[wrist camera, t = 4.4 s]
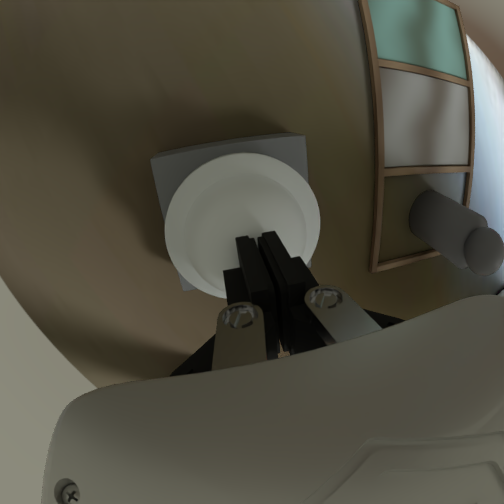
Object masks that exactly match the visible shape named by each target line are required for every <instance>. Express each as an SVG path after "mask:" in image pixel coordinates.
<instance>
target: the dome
mask: <svg viewBox="0 0 504 504" xmlns="http://www.w3.org/2000/svg"><path fill="white" fill-rule="evenodd" d="M269 231H276V233H277V235H278V236H279V238H280V240H281V241H282V243H283V245H284V246H285V248H286V250H287V251H288V253H289V255H290V256H291V258H292V257H297V256H300V257H301V258H302V260H303V261H304V263H305V264H306V265H307V263H308V261H309V260H310V258H311V257H312V255H313V252H314V250H315V248H316V245H317V242H318V238H319V233H320V212H319V207H318V203H317V200H316V198H315V195H314V193H313V191H312V190H311V188H310V186H309V185H308V183H307V182H306V181H305V180H304V178H303V177H302V176H301V175H300V174H299V173H298V172H297V171H295V170H294V169H292V168H291V167H290V166H288V165H287V164H285V163H283V162H281V161H279V160H277V159H275V158H273V157H270V156H267V155H263V154H258V153H246V152H242V153H232V154H227V155H223V156H220V157H217V158H215V159H212V160H210V161H208V162H206V163H204V164H202V165H201V166H199V167H198V168H197V169H195V170H194V171H193V172H192V173H191V174H189V175H188V176H187V177H186V178H185V179H184V181H183V182H182V183H181V185H180V186H179V187H178V189H177V190H176V192H175V194H174V196H173V198H172V200H171V203H170V205H169V208H168V211H167V215H166V220H165V241H166V246H167V250H168V253H169V256H170V258H171V260H172V262H173V264H174V266H175V267H176V269H177V270H178V271H179V273H180V274H181V275H182V276H183V277H184V278H185V279H186V280H187V281H188V282H189V283H191V284H192V285H193V286H195V287H196V288H198V289H199V290H201V291H203V292H205V293H208V294H210V295H213V296H216V297H221V298H226V299H227V297H226V290H225V283H224V276H223V270H228V269H233V268H239V267H240V265H239V259H238V253H237V247H236V240H235V237H241V236H246V235H248V236H249V238H254V239H255V242H256V244H257V247H258V240H257V237H260V236H262V233H263V232H269ZM258 249H259V248H258Z"/></svg>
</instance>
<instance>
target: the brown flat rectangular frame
mask: <svg viewBox="0 0 504 504" xmlns="http://www.w3.org/2000/svg"><path fill="white" fill-rule="evenodd" d="M358 3H359V8H360V13H361V18H362V23H363V28H364V34H365V40H366V46H367V53H368V60H369V68H370V77H371V87H372V98H373V112H374V132H375V197H374V218H373V233H372V245H371V256H370V265H369V272H370V273H371V274H372V273H376V272H380V271H384V270H388V269H391V268H395V267H399V266H402V265H406V264H410V263H413V262H417V261H420V260H424V259H427V258H431V257H434V256H438V255H441V254H440V253H439V252H438V251H436V250H435V249H432V250H428V251H425V252H421V253H417V254H413V255H409V256H405V257H402V258H398V259H394V260H390V261H386V262H382V263H378V258H379V250H380V240H381V229H382V216H383V199H384V176H397V175H412V174H430V173H454V172H467V174H466V184H465V193H464V201H463V206H465V207H467V208H469V203H470V195H471V187H472V178H473V166H474V149H475V106H474V90H473V79H472V70H471V62H470V55H469V49H468V43H467V38H466V33H465V28H464V24H463V20H462V16H461V12H460V8H459V6H457V5H455V4H453V3H451V2H450V1H448V0H358ZM379 67H384V68H379ZM386 68H391V69H386ZM392 69H397V70H392ZM398 70H402V71H398ZM404 71H407V72H404ZM409 72H412V73H409ZM414 73H417V74H414ZM419 74H422V75H419ZM423 75H426V76H423ZM428 76H430V77H428ZM432 77H434V78H432ZM436 78H438V79H436ZM440 79H442V80H440ZM443 80H446V81H443ZM447 81H449V82H447ZM451 82H453V83H451ZM454 83H456V84H454ZM458 84H459V85H458ZM461 85H463V86H461ZM464 86H466V87H464ZM418 165H437V166H418ZM395 166H407V167H395ZM384 167H388V168H384Z"/></svg>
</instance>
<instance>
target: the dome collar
mask: <svg viewBox="0 0 504 504" xmlns="http://www.w3.org/2000/svg"><path fill="white" fill-rule="evenodd" d="M242 152H246V153H258V154H263V155H267V156H270V157H273V158H275V159H277V160H279V161H281V162H283V163H285V164H287V165H288V166H290V167H291V168H292V169H294V170H295V171H297V172H298V173H299V174H300V175H301V176H302V177H303V178H304V180H305V181H306V182H307V183H308V185H309V182H308V165H307V151H306V138H305V135H301V134H296V133H291V132H288V133H277V134H268V135H259V136H251V137H243V138H236V139H229V140H223V141H216V142H210V143H205V144H199V145H194V146H189V147H183V148H179V149H174V150H169V151H165V152H160V153H157V154H156V155H155V156H154V157H152V158H151V159H150V161H151V166H152V171H153V176H154V180H155V185H156V190H157V194H158V198H159V203H160V207H161V211H162V215H163V219H164V223H165V220H166V215H167V211H168V208H169V205H170V203H171V200H172V198H173V196H174V194H175V192H176V190H177V189H178V187H179V186H180V185H181V183H182V182H183V181H184V179H185V178H186V177H187V176H188V175H189V174H191V173H192V172H193V171H194V170H195V169H197V168H198V167H199V166H201V165H202V164H204V163H206V162H208V161H210V160H212V159H215V158H217V157H220V156H223V155H227V154H232V153H242ZM306 266H307V267H308V268H309V267H311V258H310V260H309V261H308V263H307V265H306ZM177 271H178V270H177ZM178 275H179V278H180V282H181V285H182V288H183V291H188V290H194V289H198V288H196V287H195V286H193V285H192V284H191V283H189V282H188V281H187V280H186V279H185V278H184V277H183V276H182V275H181V274H180V273H179V271H178Z"/></svg>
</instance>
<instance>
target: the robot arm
mask: <svg viewBox="0 0 504 504" xmlns="http://www.w3.org/2000/svg"><path fill="white" fill-rule="evenodd" d="M235 240H236V247H237V253H238V259H239V265H240V267H239V268H233V269H228V270H223V276H224V283H225V290H226V297H227V303H228V306H227V307H225V308H224V309H223V310H222V311H221V312H220V313H219V315H218V319H217V327H216V334H215V335H214V336H213V337H211V338H210V339H209V340H208V341H207V342H206V343H205V344H204V345H203V346H202V347H201V348H199V349H198V350H197V351H196V352H195V353H194V354H193V355H192V356H191V357H189V358H188V359H187V360H186V361H185V362H184V363H183V364H182V365H181V366H179V367H178V368H177V369H176V370H175V371H174V372H173V373H172V374H171V375H170V376H169V377H163V378H156V379H148V380H139V381H130V382H125V383H119V384H113V385H109V386H106V387H102V388H98V389H96V390H93V391H91V392H88V393H85V394H83V395H81V396H80V397H77V398H76V399H74V400H73V401H71V402H70V403H69V404H68V405H67V406H66V408H65V409H64V410H63V412H62V414H61V415H60V417H59V419H58V422H57V424H56V427H55V429H54V432H53V435H52V439H51V442H50V446H49V450H48V455H47V460H46V465H45V470H44V478H43V487H42V499H41V504H504V289H503V290H502V291H501V292H500V293H499V294H498V295H477V296H472V297H468V298H464V299H461V300H458V301H455V302H453V303H450V304H448V305H445V306H442V307H440V308H437V309H435V310H432V311H430V312H427V313H425V314H422V315H420V316H417V317H414V318H412V319H409V320H406V321H405V320H402V319H399V318H395V317H391V316H388V315H384V314H380V313H376V312H373V311H369V310H365V309H362V308H361V307H360V306H359V305H358V304H357V303H356V302H355V301H354V300H353V299H352V298H351V297H350V296H349V295H348V294H347V293H346V292H345V291H343V290H342V289H340V288H338V287H336V286H331V285H320V286H319V284H318V283H317V281H316V280H315V278H314V277H313V275H312V274H311V272H310V270H309V269H308V267H307V266H306V264H305V263H304V261H303V260H302V258H301V257H300V256H297V257H292V258H291V256H290V255H289V253H288V251H287V250H286V248H285V246H284V245H283V243H282V241H281V240H280V238H279V236H278V235H277V233H276V231H269V232H263V233H262V236H260V237H257V240H258V247H257V244H256V242H255V239H254V238H249V236H248V235H246V236H241V237H235ZM258 248H259V249H258ZM279 339H280V342H281V345H282V348H283V351H284V352H286V351H289V353H290V356H285V357H281V358H278V353H280V345H279Z"/></svg>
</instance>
